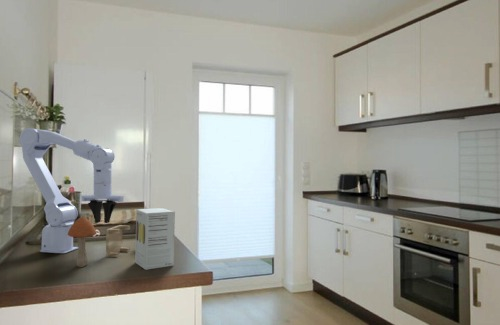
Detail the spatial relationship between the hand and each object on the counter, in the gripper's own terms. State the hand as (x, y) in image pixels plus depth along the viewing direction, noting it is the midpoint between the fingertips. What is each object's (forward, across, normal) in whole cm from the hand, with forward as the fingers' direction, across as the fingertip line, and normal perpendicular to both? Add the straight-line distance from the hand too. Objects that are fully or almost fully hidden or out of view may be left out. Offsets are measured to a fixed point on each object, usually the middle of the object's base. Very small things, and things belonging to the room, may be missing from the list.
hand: (102, 222), depth 130 cm
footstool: (+10, -6, 0) cm, 12 cm away
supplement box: (+11, -23, +10) cm, 27 cm away
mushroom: (+11, -3, +17) cm, 20 cm away
